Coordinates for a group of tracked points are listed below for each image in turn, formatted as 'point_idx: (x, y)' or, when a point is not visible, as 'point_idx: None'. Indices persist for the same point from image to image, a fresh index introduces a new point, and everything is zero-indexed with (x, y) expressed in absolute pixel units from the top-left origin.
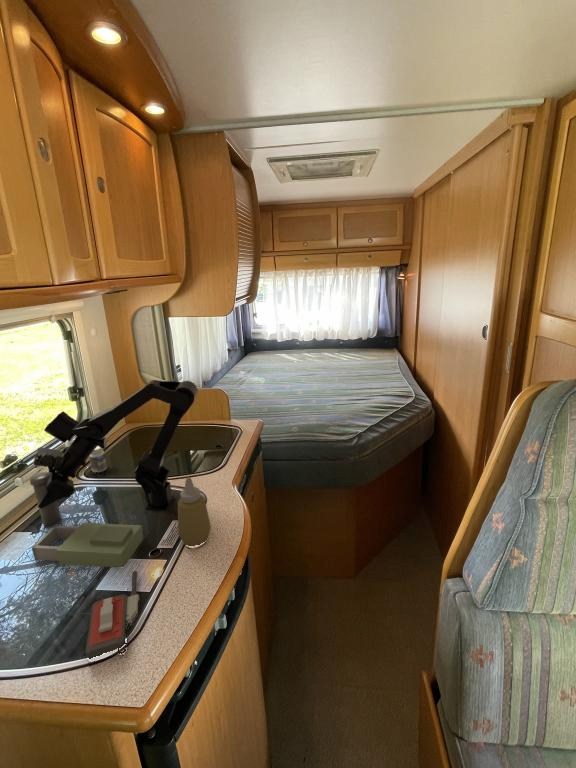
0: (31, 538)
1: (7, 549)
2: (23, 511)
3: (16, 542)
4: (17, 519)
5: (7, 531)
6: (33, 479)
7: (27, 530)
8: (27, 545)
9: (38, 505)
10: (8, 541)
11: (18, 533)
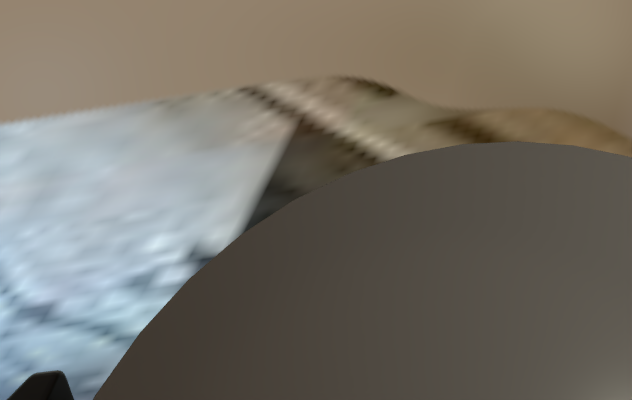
0: (129, 261)
1: (74, 118)
2: (554, 139)
3: (135, 162)
4: (456, 117)
5: (320, 80)
6: (454, 304)
7: (265, 212)
8: (43, 247)
9: (33, 385)
10: (180, 107)
11: (255, 155)
